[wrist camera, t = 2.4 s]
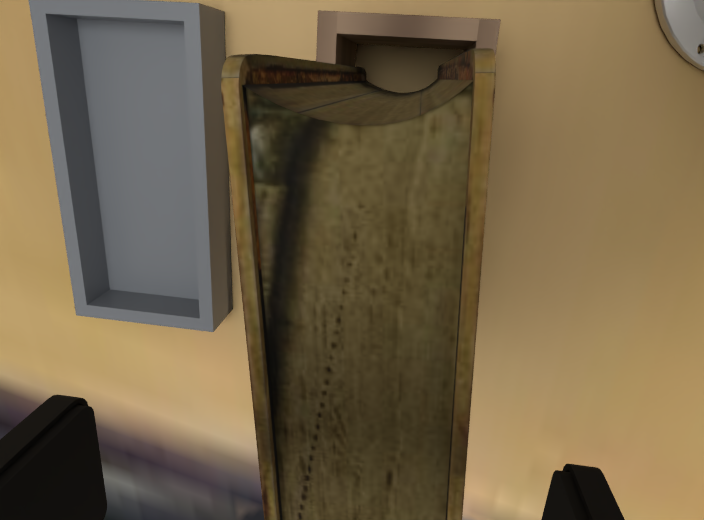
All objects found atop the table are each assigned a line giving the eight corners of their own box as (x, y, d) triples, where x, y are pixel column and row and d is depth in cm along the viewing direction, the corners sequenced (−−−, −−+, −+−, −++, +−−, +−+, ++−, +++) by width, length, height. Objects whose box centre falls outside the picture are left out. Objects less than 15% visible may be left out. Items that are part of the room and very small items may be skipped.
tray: (224, 11, 33) (199, 3, 29) (232, 308, 41) (213, 332, 37) (70, 3, 34) (27, -6, 31) (107, 294, 42) (76, 315, 38)
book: (434, 296, 38) (453, 640, 15) (363, 293, 39) (274, 618, 15) (444, 66, 32) (500, 36, 9) (360, 68, 33) (215, 44, 10)
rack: (482, 33, 31) (500, 19, 24) (441, 327, 39) (446, 386, 31) (342, 26, 32) (317, 10, 25) (328, 314, 40) (306, 368, 32)
